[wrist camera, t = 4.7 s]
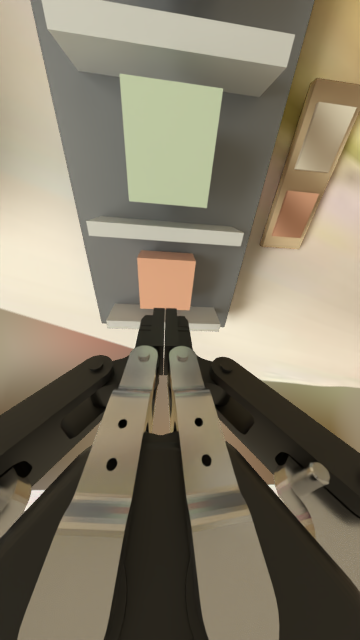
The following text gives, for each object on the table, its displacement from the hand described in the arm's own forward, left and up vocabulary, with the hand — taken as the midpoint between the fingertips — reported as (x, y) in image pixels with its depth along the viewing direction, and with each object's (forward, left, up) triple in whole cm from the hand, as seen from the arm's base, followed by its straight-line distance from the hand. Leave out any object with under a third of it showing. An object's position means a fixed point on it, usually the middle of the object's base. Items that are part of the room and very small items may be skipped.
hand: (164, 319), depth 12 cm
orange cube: (0, 0, -10) cm, 10 cm away
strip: (-9, +13, -12) cm, 20 cm away
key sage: (-9, 0, -8) cm, 12 cm away
